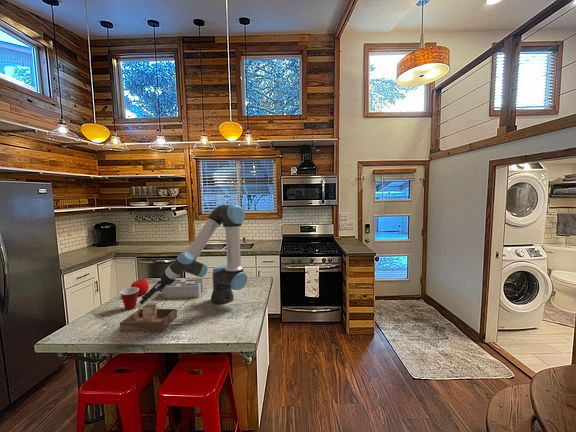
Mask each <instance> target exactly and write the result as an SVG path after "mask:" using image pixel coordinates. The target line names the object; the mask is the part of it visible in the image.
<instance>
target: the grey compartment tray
mask: <svg viewBox="0 0 576 432" xmlns="http://www.w3.org/2000/svg"><path fill="white" fill-rule="evenodd" d="M203 290H205V278H186V279H185V278H184V279H183V278H182V279H181V278H180V279H175V281H174V282H173V283H172V284H170V285H166V286H165V288H164V289H163V290H162V292H161V294H162V297H163V298H165V299H182V298H183V299H184V298H185V299H186V298H188V299H189V298H199V297H200V296H201V294H202V293H203V292H204V291H203Z"/></svg>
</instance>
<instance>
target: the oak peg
mask: <svg viewBox="0 0 576 432" xmlns="http://www.w3.org/2000/svg"><path fill="white" fill-rule="evenodd" d="M141 309H142V310H143V322H156V321H157V309H158V308H157V302H147V303H145V304H144V305H143V306H142V307H141Z"/></svg>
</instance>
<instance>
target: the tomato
mask: <svg viewBox="0 0 576 432" xmlns="http://www.w3.org/2000/svg"><path fill="white" fill-rule="evenodd" d="M131 287H136V288H139V291H138V295H137V296H144V295H145V294H146V293H147V292H148V290H150V287H149V282H148V281H147V280H145V279H138V280H135V281H133V282H132V283H131V285H130V288H131Z"/></svg>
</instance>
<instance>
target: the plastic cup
mask: <svg viewBox="0 0 576 432" xmlns="http://www.w3.org/2000/svg"><path fill="white" fill-rule="evenodd" d="M138 291H139V288H136V287H131V286H130V287H128V288H123V289H120V291H119V295H120V296H121V299H122V302H123V306H124V309H125V311H133V310H135V309H136V308H137V306H136V304H137V303H138V296H139V295H138Z"/></svg>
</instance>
